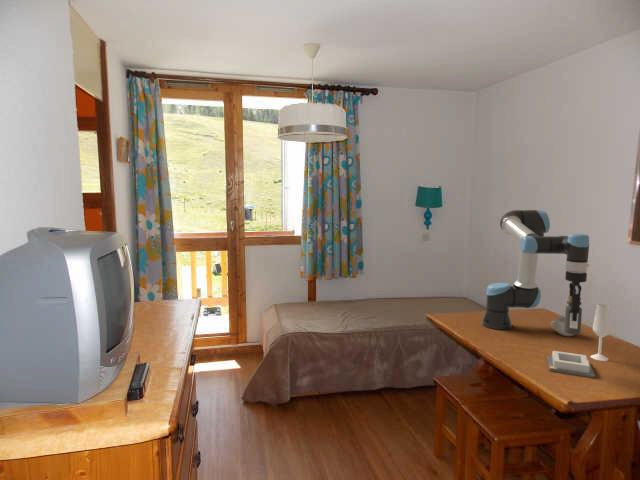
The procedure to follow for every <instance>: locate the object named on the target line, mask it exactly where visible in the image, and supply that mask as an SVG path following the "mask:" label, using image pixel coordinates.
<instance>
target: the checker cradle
mask: <svg viewBox="0 0 640 480" xmlns="http://www.w3.org/2000/svg"><path fill="white" fill-rule="evenodd" d="M546 358H547V363H548V370H549V372H553V373H554V372H555V373H559V374H561V373H562V374H566V375H573V376H578V377H586V378H591V379H595V378H596V375H595V373H594V370H593V367H592V365H591V363H590V361H589V360H588V358H587V355H586V354H578V353H574V352H573V353H572V352H571V353H570V352H564V351H559V350H558V351H557V350H552V353H551V355H547V356H546Z"/></svg>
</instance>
